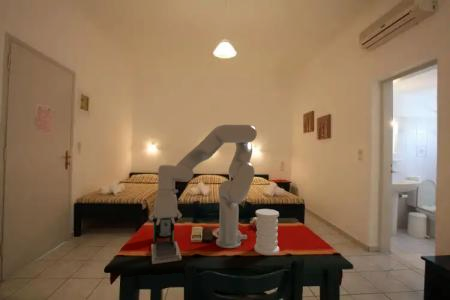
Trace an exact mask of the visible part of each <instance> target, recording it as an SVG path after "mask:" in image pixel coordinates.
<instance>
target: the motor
mask: <svg viewBox="0 0 450 300" xmlns="http://www.w3.org/2000/svg"><path fill="white" fill-rule="evenodd" d="M153 217H154V218H155V216H153ZM155 219H156V220H157V218H155ZM171 221H172V220H171ZM159 223H160V222H159ZM156 227H157V225H156V224H155V223H154V222H153V229H152V230H153V234H152V238H153V240H152V241H153V243H156V242H165V241H175V240H174V233H175V229H174V230H173V233H171V235H169V236H160V235H159V234H158V232H156Z"/></svg>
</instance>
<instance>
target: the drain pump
mask: <svg viewBox="0 0 450 300" xmlns="http://www.w3.org/2000/svg"><path fill="white" fill-rule="evenodd" d="M159 235H160V236H169V235H171V218H161V219H160V234H159Z"/></svg>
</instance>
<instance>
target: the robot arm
mask: <svg viewBox="0 0 450 300" xmlns="http://www.w3.org/2000/svg"><path fill="white" fill-rule="evenodd" d="M257 135H258V133H257V130H256V128H255V126H253V125H251V124H221V125H218V126H216V127H215V128H214V129H212V130H211V132H209V133H208V134H207V136H206V137H204V139H202V140H201V141H200V143H198V144H197V145H196V146H195V147H194V148H193V149H192V150H191V151H190V152H189V153H187V154H186V155H185V156H184V157H183V158H182V159H180V161H179V162H178V163H177V164H176V165H173V164H172V165H171V164H162V165H159V166H158V170H157V173H158V174H157V177H158V178H157V194H156V195H155V199H154V205H153V206H154V207H153V210H152V211H151V213H150V215H149V216H148V219H149V220H150V221H152V222H153V224H154V223H155V224H156V225H157V227H156V232H158V234H160V223H159V222H160V219H161V218H171V220H172V221H171V233H173V230H174V231H175V224H176V223H177V222H178V220H179V219H180V218H182V216H183V215H182V213H181V212H180V210H179V209H178V197H177V193H179V189H176V182H184V183H185V182H189V181H191V180H192V179H193V177H194V169H195V168H196V167H197V166H198V165H199V164H201V163H203V162H205V161H207V160H209V159H211V158H212V157H213V156H214V155H215V153H216V152H217V151H218V150H219V149H220V148H221V147H222V146H223V145H224V144H226V143H231V144H233V143H234V144H235V147H236V149H235V152H234V155H233V158H232V160H231V162H230V166H229V167H228V175H229V177H230V178H232V180H223V182H221V183H220V184H219V187H218V198H219V199H218V200H219V220H218V221H219V228H218V229H219V230H218V231H219V232H218V233H219V235H218V236H219V237H218V238H216V240H215V244H216V246H218V247H219V248H224V249H234V248H238V247H240V246H241V244H242V241H241V240H246V239H248V235H247V234H243V233H239V212H240V211H239V209H240V208H239V204H241V203H243V202H244V200H245V199H246V198H247V196H248V194H249V190H250V188H251V186H252V183H253V180H254V178H255V168H254V166H253V165H252V163H250V162H251V159H252V155H253V146H252V142H254V140H256V138H257ZM154 216H155V218H157V220H156V219H155V218H154Z"/></svg>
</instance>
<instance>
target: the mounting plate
mask: <svg viewBox="0 0 450 300" xmlns="http://www.w3.org/2000/svg"><path fill="white" fill-rule="evenodd" d="M150 246H151V247H150V248H151V264H152V265H155V264H163V263H169V262H170V263H171V262H177V261H182V260H183V258H182V255H181V254H182V253H181V251H180V247H179V244H178V241H175V240H173V241H172V240H171V241H165V242H156V241H155V242H154V243H152V244H151V245H150Z"/></svg>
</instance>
